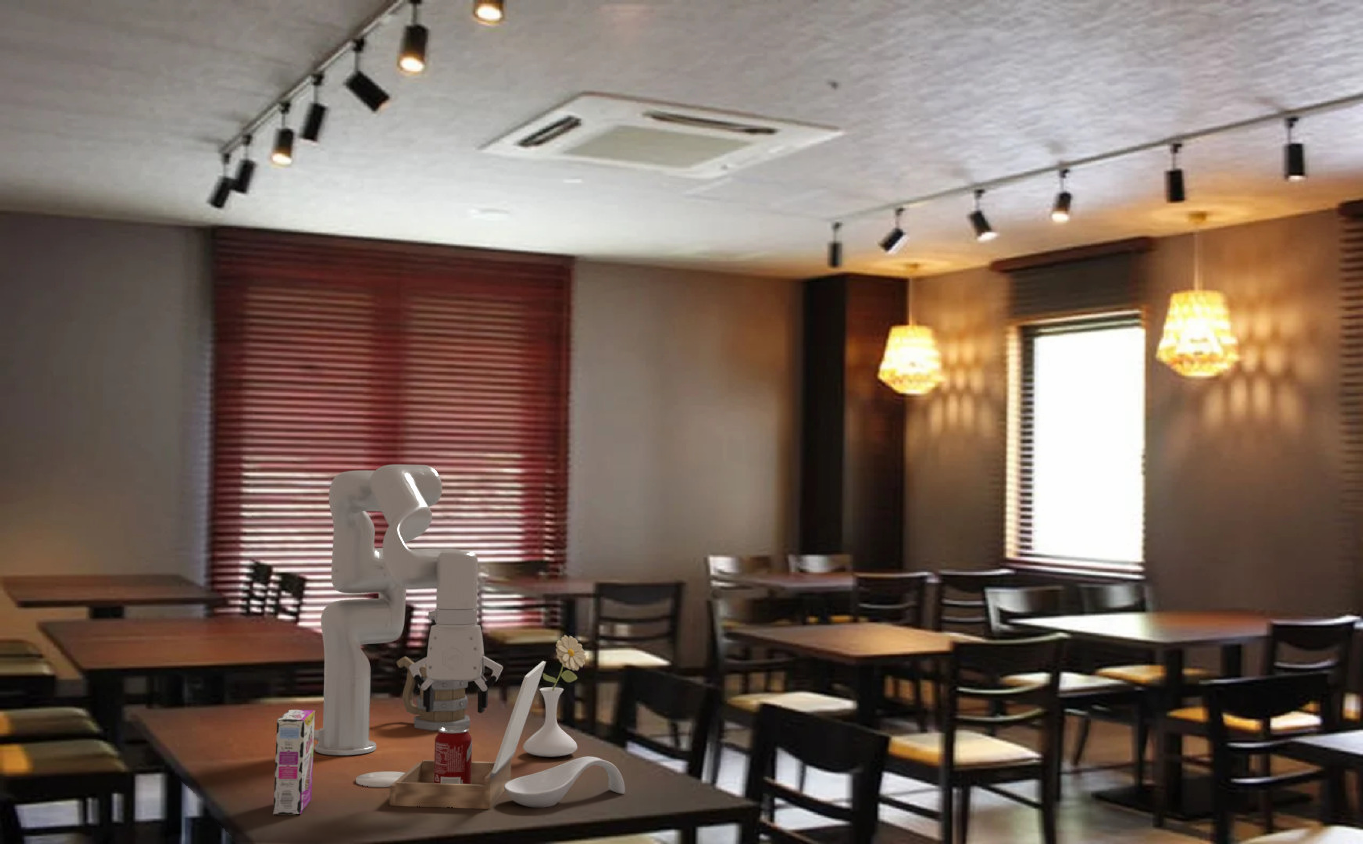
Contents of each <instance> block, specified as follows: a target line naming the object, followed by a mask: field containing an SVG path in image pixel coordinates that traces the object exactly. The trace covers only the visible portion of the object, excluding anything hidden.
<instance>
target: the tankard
mask: <svg viewBox="0 0 1363 844" xmlns="http://www.w3.org/2000/svg"><path fill="white" fill-rule="evenodd" d="M414 663H415V662H414V661H413V660H412V659H411V658H409V657H407V656H403V657H401V658H400V659H398V660H397V661H396V664H397V666H398V668H399V669H401V668H403V667H405V668H406V669H407V671H406V672H407V673H406V674H407V675H406V681H405V684H404V686H403V690H402V691H403V692H402V702H403V705H404V708H405V710H406V712H407V713H409V714H412V715H415V716H414V717H413V727H414V728H415V729H418V730H419V729H420V730H425V731H437V732H439V728H442V727H448V726H462V727H467V728H469V727H470V726H471V719H470V717H469V715H467V714H465V713H466V711H465V710H466V709H467V708H468V702H469V699H468V697H467V695H466V688H468V687H469V682H470V681H435V682H434V683H433V684H432V688H433V689H434V708H433V710H432V711H430V712H426V707H423V690H422V689H421V687H420V685H419V684H418V683H417V682H416V681H415V680H414V677H413V675H412V673H411V671H410V669H409V666H410V665H412V664H414ZM426 665H427V664H426ZM426 665H424V666H422V667H420V668H419V671H420V674H421V675H422V676H423V677H424V678H425V679H427V678H428V677H427V674H426ZM416 684H417V687H418V688H419V695H417V696H416V697H417V700H416V704H414V701H413V692H414V689H415V686H416Z"/></svg>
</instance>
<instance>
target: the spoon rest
mask: <svg viewBox="0 0 1363 844" xmlns="http://www.w3.org/2000/svg"><path fill="white" fill-rule="evenodd" d="M592 766H598V767H601V768H603V769H605V771H606V773H607V775H608V789H609V790H610V791H612V792H615V793H617V794H620V795H621V794H622V795H623V794H625V792H626V787H625V781H624V778H623V776H622V773H621V772H620V770H619V769H618V768H617V766H616V765H614V764H613V763H612V762H610V761H608V760H604V759H602V758H599V757H596V756H583V757H578V758H575V759H572V760H569V761H567V762H564V763H561V764H560V765H555V766H554V767H551V768H548V769H545V770H542V771H539V772H534V773H533V774H532V773H531V774H528V775H524V776H519V777H516V778H514V779H511V781H509V782H507V783H506V784H505V785H504V790H505V791H504V792H505V793H506V795H507V796H508V797H509V798H510V799H511V800H512V801H513V802H515V803H516V804H519V805H521V806H524V807H529V808H546V807H547V808H548V807H552V806H555V805H556V804H557V803H558V802H559V801H561V799H562V798H563V797H564V796H566V794H567V793H568V791H569V790H570V789H571V787H572V786H573V785H574V783H575V782H576V780H577V779H578V778H579V777H580V775H581V774H582V773H583V772H584V771H585V770H587V769H588V768H590V767H592Z"/></svg>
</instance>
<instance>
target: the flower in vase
mask: <svg viewBox="0 0 1363 844" xmlns="http://www.w3.org/2000/svg"><path fill="white" fill-rule="evenodd" d="M555 647H556V648H555V652H556V654H557V655H556V659H558V660H559V662H560V663H561V664H562V665H561V668H560V671H559V673H558V676H557V678H555V677H554V676H550V675H547V674H546V673H545V672H542V677H543V680H545V681H547V682H551V683H553V686H552V687H551V686H550V687H542V688H539V691H540V693H541V695H542V696H543V698H544V704H545V721H544V723H543V725H542V727H541V728H539V729H538V730H537V731H536V732H535V733H534V734H533V735H531V736H530V737H529V738H528V739H527V740H526V741H525V742H524V744H523V747H522V748H523V750H524V751H525V752H526V753H527V754H530V755H532V756H537V757H546V758H549V757H551V758H556V757H562V756H563V757H565V756H568V755H571V754H572V753H575V752H576V751H577V749H578V745H577V742H576V741H575V740H574V739H573V738H572V737H571V736H570V735H569V734H567V732H565V731H564V730H563V729H562V728H561V727H560V726H559V724H558V721H557V711H558V710H557V708H558V702H559V698H560V696H561V695H562V693H563V692H564V688H562V687H556V685H557V683H558V681H559V679H560V677H561V679H563V681H565V682H567V683H572V682H574V681H576V680H577V679H578V676H577V675H576V674H575V673H574V672H573V671H579V669H580V668H583V666H584V665H586V661H585V659H587V655H586V654H585V652H586V651H585V650H584V649H583V645H582V644H581V643H579V641H578V639H577V638H575V637H573V636H571V635H569V636H567V635H566V634H564V635H563V636H562V637H561V639H558V640H557V642H556V644H555ZM564 668H567V669H568V670H567V669H566V670H565V671H563V669H564ZM570 670H572V671H570Z"/></svg>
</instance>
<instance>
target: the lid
mask: <svg viewBox="0 0 1363 844" xmlns="http://www.w3.org/2000/svg"><path fill="white" fill-rule="evenodd" d="M546 663H547V661H544V660H542V661H541V662H540V663H538V665H536V666H535V667H534V668H532V670H530V671H529V672H528V673H527V674H526V675H524V678H523V681H522V683H521V687H520V689H519V693H518V695H517V697H516V700H515V704H514V707H513V710H512V712H511V716H510V718H509V721H508V724H507V727H506V729H505V733H504V736H503V739H502V742H501V745H500V746H499V750H498V752H497V756H496V759H495V761H494V762H495V764H494V767H493V770H492V773H491V774H490V777H491V778H494V777H495V776H496V775H497V773H498V772H499V771H500V770H501V769H502V768H503V767H504V766H505V765H506V763H507V762H508V761H509V760H510V759H511V760H512V758H513V757H514V756H515V752H516V750H517V747H518V744H519V742H520V738H521V736H522V733H523V729H524V727H525V724H526V721H527V718H528V715H529V712H530V710H531V707H532V704H533V700H534V697H535V695H536V692H537V690H538V687H539V683H540V680H541V677H542V676H543V673H544V672H543V671H544V669H545V666H546Z"/></svg>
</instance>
